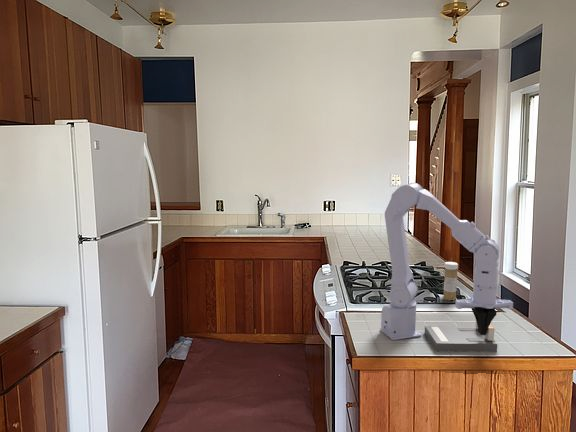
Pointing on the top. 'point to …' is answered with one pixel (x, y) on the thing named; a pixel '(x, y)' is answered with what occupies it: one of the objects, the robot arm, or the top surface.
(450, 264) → the sprinkles bottle
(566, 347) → the top surface
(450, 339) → the box
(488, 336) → the breaker handle
